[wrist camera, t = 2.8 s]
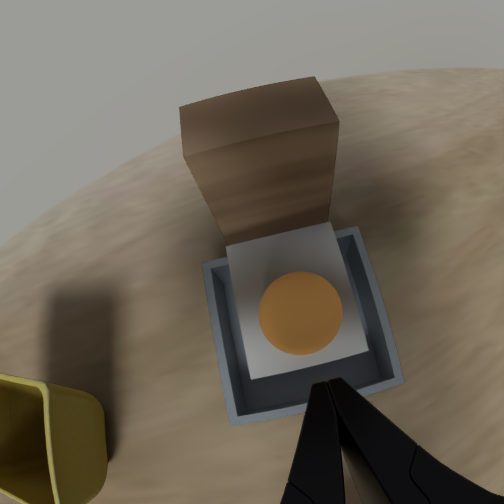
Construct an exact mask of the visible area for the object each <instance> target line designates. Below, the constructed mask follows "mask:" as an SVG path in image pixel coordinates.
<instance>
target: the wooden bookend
mask: <svg viewBox="0 0 504 504" xmlns="http://www.w3.org/2000/svg"><path fill="white" fill-rule="evenodd" d="M179 109H180V124H181V136H182V148H183V157H184V159H185V161H186V163H187V165H188V167H189V169H190V171H191V173H192V175H193V177H194V179H195V181H196V183H197V185H198V187H199V189H200V191H201V193H202V195H203V197H204V199H205V201H206V203H207V204H208V206H209V208H210V210H211V212H212V214H213V216H214V218H215V220H216V222H217V224H218V226H219V228H220V230H221V232H222V234H223V236H224V237H225V239H226V241H227V243H228V245H229V246H225V247H226V252H227V258H228V263H229V269H230V274H231V280H232V285H233V290H234V296H235V301H236V306H237V312H238V317H239V322H240V327H241V332H242V338H243V343H244V348H245V353H246V358H247V363H248V368H249V373H250V378H251V379H257V378H262V377H267V376H272V375H276V374H281V373H286V372H290V371H294V370H299V369H303V368H307V367H311V366H315V365H319V364H323V363H327V362H331V361H334V360H338V359H342V358H345V357H349V356H352V355H356V354H359V353H363V352H366V351H369V350H368V346H367V342H366V338H365V334H364V330H363V327H362V323H361V319H360V315H359V312H358V308H357V305H356V301H355V298H354V294H353V291H352V287H351V284H350V281H349V277H348V274H347V271H346V268H345V264H344V261H343V258H342V255H341V252H340V249H339V245H338V242H337V239H336V236H335V233H334V230H333V227H332V224H331V221H330V222H327V221H328V214H329V207H330V200H331V192H332V185H333V177H334V169H335V160H336V151H337V142H338V132H339V122H340V121H339V119H338V117H337V115H336V113H335V112H334V110H333V108H332V106H331V104H330V103H329V101H328V99H327V97H326V95H325V94H324V92H323V90H322V88H321V87H320V85H319V83H318V81H317V80H316V78H315V77H308V78H302V79H296V80H290V81H284V82H279V83H273V84H268V85H264V86H259V87H254V88H250V89H246V90H241V91H237V92H233V93H228V94H225V95H220V96H217V97H213V98H209V99H205V100H202V101H198V102H195V103H191V104H188V105H185V106H181V107H179ZM299 271H302V272H310V273H314V274H317V275H319V276H321V277H323V278H324V279H326V280H327V281H328V282H329V283H330V284H332V286H333V287H334V288H335V289H336V291H337V293H338V295H339V297H340V300H341V303H342V310H343V316H342V322H341V326H340V328H339V331H338V333H337V334H336V336H335V338H334V339H333V340H332V341H331V342H330V343H329V344H328V345H327V346H326V347H324V348H323V349H321V350H319V351H317V352H315V353H312V354H308V355H292V354H288V353H285V352H283V351H281V350H279V349H277V348H276V347H274V346H273V345H272V344H271V343H270V342H269V341H268V340H267V338H266V337H265V336H264V334H263V332H262V329H261V327H260V323H259V316H258V312H259V305H260V301H261V298H262V296H263V294H264V292H265V291H266V289H267V288H268V287H269V285H270V284H271V283H272V282H274V281H275V280H276V279H278V278H279V277H281V276H283V275H285V274H288V273H292V272H299Z"/></svg>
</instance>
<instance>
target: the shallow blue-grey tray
mask: <svg viewBox="0 0 504 504" xmlns="http://www.w3.org/2000/svg"><path fill="white" fill-rule="evenodd" d="M334 233H335V236H336V239H337V242H338V245H339V249H340V252H341V255H342V258H343V261H344V264H345V268H346V271H347V274H348V277H349V281H350V284H351V287H352V291H353V294H354V298H355V301H356V305H357V308H358V312H359V315H360V319H361V323H362V327H363V330H364V334H365V338H366V342H367V346H368V350H369V351H366V352H363V353H359V354H356V355H352V356H349V357H345V358H342V359H338V360H334V361H331V362H327V363H323V364H319V365H315V366H311V367H307V368H303V369H299V370H294V371H290V372H286V373H281V374H276V375H272V376H267V377H262V378H257V379H251V378H250V373H249V368H248V363H247V358H246V353H245V348H244V343H243V338H242V332H241V327H240V322H239V317H238V312H237V306H236V301H235V296H234V290H233V285H232V280H231V274H230V269H229V263H228V258H227V257H223V258H219V259H215V260H211V261H207V262H202V269H203V275H204V282H205V288H206V295H207V301H208V307H209V314H210V320H211V326H212V331H213V337H214V343H215V349H216V354H217V360H218V365H219V371H220V376H221V381H222V386H223V392H224V397H225V402H226V407H227V412H228V416H229V421H230V426H235V425H242V424H248V423H254V422H260V421H265V420H271V419H276V418H281V417H286V416H291V415H295V414H300V413H304V412H305V411H306V407H307V402H308V398H309V393H310V389H311V385H312V384H313V383H316V382H320V381H326V382H327V380H328V379H332V378H335V377H342V378H343V379H344V380H345V381H346V382H347V383H348V384H349V385H351V386H352V387H353V388H354V389H355V390H356V391H357V392H358V393H360V394H361V395H362V396H363V397H364V396H368V395H371V394H374V393H377V392H380V391H383V390H386V389H389V388H392V387H395V386H398V385H401V384H403V383H404V378H403V374H402V370H401V365H400V361H399V357H398V353H397V349H396V346H395V342H394V338H393V334H392V331H391V327H390V323H389V320H388V316H387V313H386V309H385V306H384V303H383V299H382V296H381V293H380V289H379V286H378V283H377V280H376V277H375V274H374V271H373V268H372V265H371V262H370V259H369V256H368V253H367V250H366V247H365V244H364V241H363V238H362V236H361V233H360V230H359V227H358V226H353V227H349V228H345V229H341V230H337V231H334Z"/></svg>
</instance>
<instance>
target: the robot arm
mask: <svg viewBox="0 0 504 504" xmlns="http://www.w3.org/2000/svg"><path fill="white" fill-rule="evenodd" d="M416 446H417V447H416ZM341 450H342V453H343V455H344V458H345V460H346V463H347V465H348V468H349V470H350V473H351V476H352V478H353V481H354V483H355V486H356V488H357V491H358V493H359V496H360V498H361V501H362V503H363V504H504V496H500V495H497V494H494V493H492V492H489V491H487V490H486V489H484V488H482V487H480V486H478V485H477V484H475V483H473V482H471V481H470V480H468V479H466V478H465V477H463V476H461V475H460V474H458V473H456V472H455V471H453V470H451V469H450V468H448V467H447V466H445V465H444V464H442V463H441V462H439V461H438V460H437V459H436V458H434V457H433V456H432V455H430V454H429V453H428V452H427V451H425V450H424V449H423V448H422V447H421V446H420V445H417V443H416V442H415V441H413V440H412V439H411V438H410V437H409V436H408V435H406V434H405V433H404V432H403V431H402V430H401V429H399V428H398V427H397V426H396V425H395V424H394V423H393V422H391V421H390V420H389V419H388V418H387V417H386V416H385V415H383V414H382V413H381V412H380V411H379V410H378V409H377V408H375V407H374V406H373V405H372V404H371V403H370V402H369V401H367V400H366V399H365V398H364V397H363V396H362V395H361V394H360V393H358V392H357V391H356V390H355V389H354V388H353V387H352V386H351V385H349V384H348V383H347V382H346V381H345V380H344V379H343V378H342V377H335V378H332V379H328V380H327V382H326V381H320V382H316V383H313V384H312V385H311V389H310V393H309V398H308V402H307V407H306V411H305V415H304V420H303V424H302V428H301V432H300V436H299V440H298V444H297V448H296V452H295V455H294V459H293V463H292V467H291V470H290V474H289V477H288V482H287V484H286V487H285V491H284V494H283V497H282V500H281V503H280V504H345V490H344V477H343V465H342V454H341Z"/></svg>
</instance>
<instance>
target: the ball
mask: <svg viewBox="0 0 504 504" xmlns="http://www.w3.org/2000/svg"><path fill="white" fill-rule="evenodd" d="M258 316H259V323H260V327H261V329H262V332H263V334H264V336H265V337H266V338H267V340H268V341H269V342H270V343H271V344H272V345H273V346H274V347H276V348H277V349H279V350H281V351H283V352H285V353H288V354H292V355H308V354H312V353H315V352H317V351H319V350H321V349H323V348H324V347H326V346H327V345H328V344H329V343H330V342H331V341H332V340H333V339H334V338H335V336H336V334H337V333H338V331H339V328H340V326H341V322H342V316H343V310H342V303H341V300H340V297H339V295H338V293H337V291H336V289H335V288H334V287H333V286H332V284H330V283H329V282H328V281H327V280H326V279H324V278H323V277H321V276H319V275H317V274H314V273H310V272H302V271H299V272H292V273H288V274H285V275H283V276H281V277H279V278H278V279H276V280H275V281H274V282H272V283H271V284H270V285H269V287H268V288H267V289H266V291H265V292H264V294H263V296H262V298H261V301H260V305H259V312H258Z"/></svg>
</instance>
